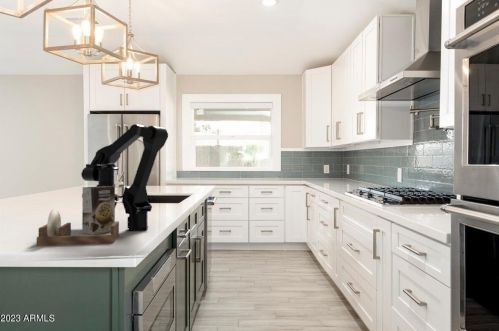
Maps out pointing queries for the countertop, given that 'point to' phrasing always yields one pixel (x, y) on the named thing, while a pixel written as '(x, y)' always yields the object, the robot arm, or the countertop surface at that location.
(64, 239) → the rack
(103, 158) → the robot arm
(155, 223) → the countertop surface
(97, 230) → the coffee box
